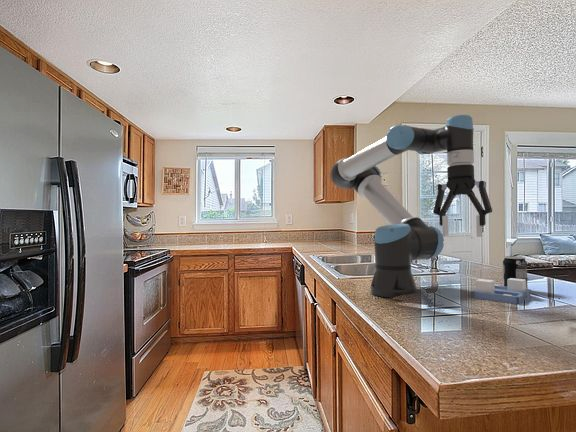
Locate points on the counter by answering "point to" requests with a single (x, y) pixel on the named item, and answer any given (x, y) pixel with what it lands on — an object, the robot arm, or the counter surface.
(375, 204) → the robot arm
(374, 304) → the counter surface
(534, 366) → the counter surface
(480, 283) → the white block
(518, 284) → the tab far
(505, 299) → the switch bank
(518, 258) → the beverage can
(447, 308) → the counter surface
